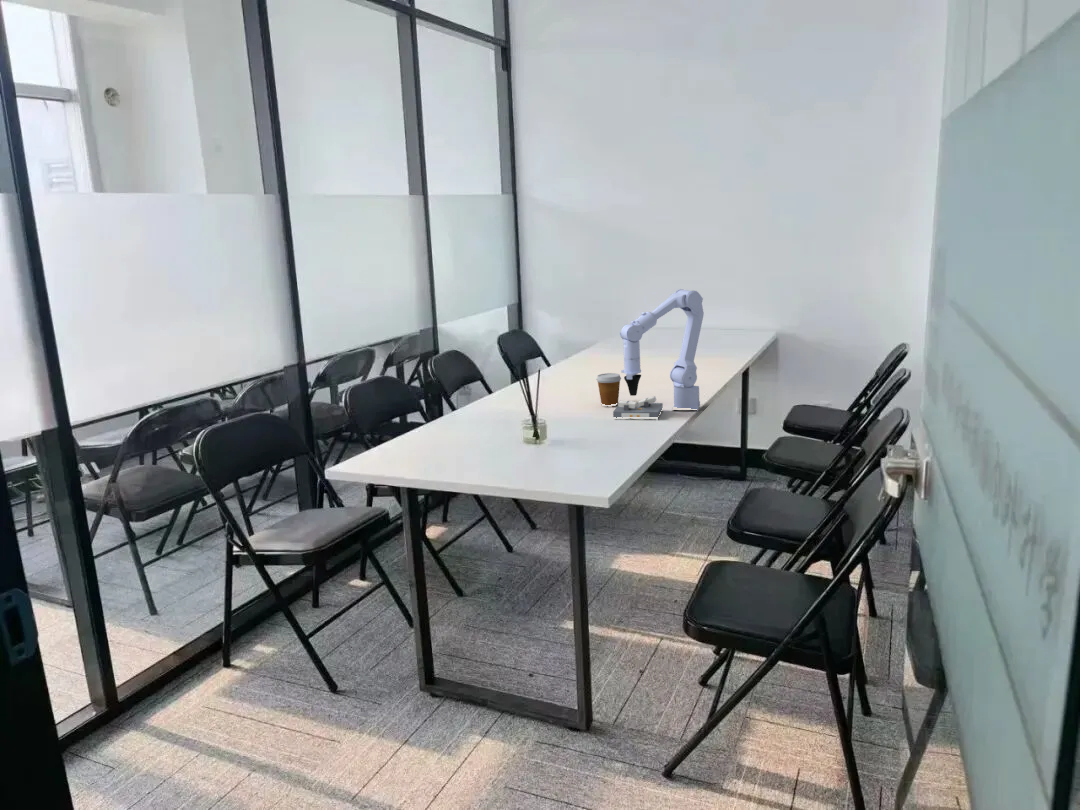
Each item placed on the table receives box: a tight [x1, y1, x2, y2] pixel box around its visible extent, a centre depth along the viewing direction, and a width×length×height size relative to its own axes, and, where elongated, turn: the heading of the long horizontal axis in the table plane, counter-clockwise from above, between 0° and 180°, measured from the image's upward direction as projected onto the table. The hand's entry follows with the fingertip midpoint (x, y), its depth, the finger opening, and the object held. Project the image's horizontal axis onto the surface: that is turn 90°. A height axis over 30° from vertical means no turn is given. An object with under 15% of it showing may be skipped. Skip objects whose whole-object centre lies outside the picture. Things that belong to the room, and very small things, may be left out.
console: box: [612, 402, 664, 418], centre depth 288 cm, size 16×14×5 cm
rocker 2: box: [637, 395, 657, 407], centre depth 289 cm, size 6×4×2 cm, turn 74°
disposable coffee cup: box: [596, 372, 622, 405], centre depth 305 cm, size 10×10×12 cm
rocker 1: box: [618, 400, 638, 408], centre depth 286 cm, size 6×4×2 cm, turn 74°
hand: (633, 395), depth 285 cm, fingers closed
